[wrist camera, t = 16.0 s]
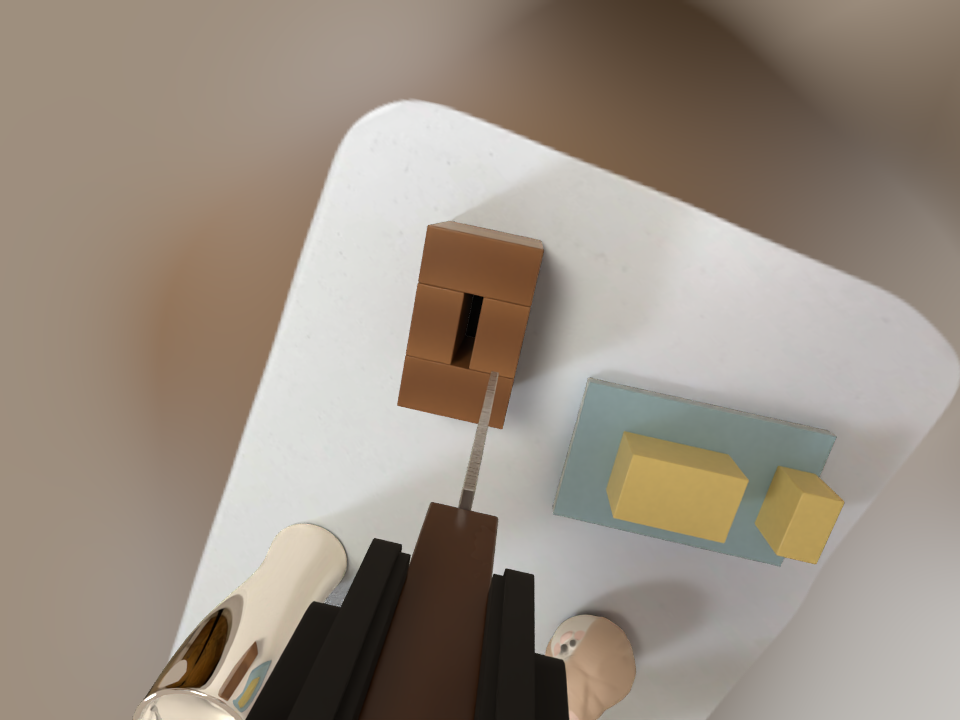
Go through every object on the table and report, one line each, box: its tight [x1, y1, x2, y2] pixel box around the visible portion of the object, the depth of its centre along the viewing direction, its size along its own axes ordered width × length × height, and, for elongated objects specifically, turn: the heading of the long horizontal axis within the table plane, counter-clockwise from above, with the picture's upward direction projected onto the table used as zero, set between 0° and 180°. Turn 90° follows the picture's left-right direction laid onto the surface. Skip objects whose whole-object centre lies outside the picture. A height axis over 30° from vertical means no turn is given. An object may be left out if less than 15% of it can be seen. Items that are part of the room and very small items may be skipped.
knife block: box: [397, 221, 544, 429], centre depth 32 cm, size 10×6×7 cm, turn 169°
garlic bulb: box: [545, 615, 636, 720], centre depth 38 cm, size 7×6×8 cm
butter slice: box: [755, 466, 844, 564], centre depth 34 cm, size 4×2×4 cm, turn 169°
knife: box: [358, 371, 499, 720], centre depth 13 cm, size 3×2×17 cm, turn 169°
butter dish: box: [553, 378, 836, 566], centre depth 37 cm, size 10×16×1 cm, turn 78°
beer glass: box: [133, 524, 347, 720], centre depth 35 cm, size 7×7×15 cm
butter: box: [606, 431, 749, 543], centre depth 34 cm, size 4×7×4 cm, turn 78°
